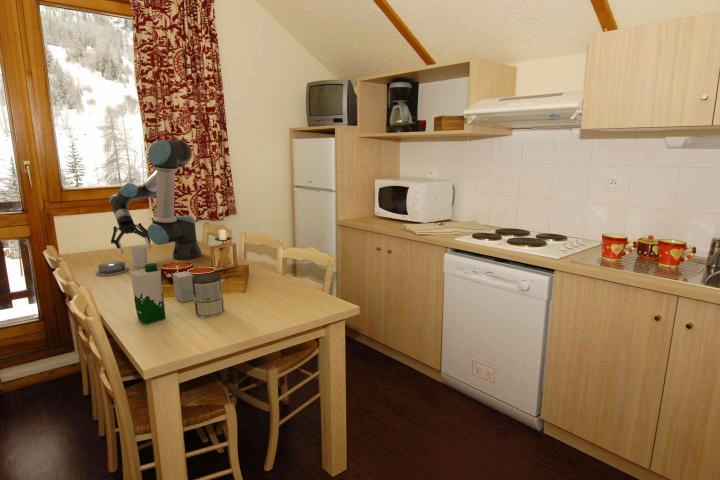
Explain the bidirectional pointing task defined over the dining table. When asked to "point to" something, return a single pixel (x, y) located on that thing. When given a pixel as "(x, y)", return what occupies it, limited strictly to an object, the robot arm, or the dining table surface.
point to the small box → (183, 286)
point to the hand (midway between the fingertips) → (136, 250)
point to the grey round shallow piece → (111, 268)
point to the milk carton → (148, 294)
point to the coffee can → (208, 295)
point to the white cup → (139, 255)
